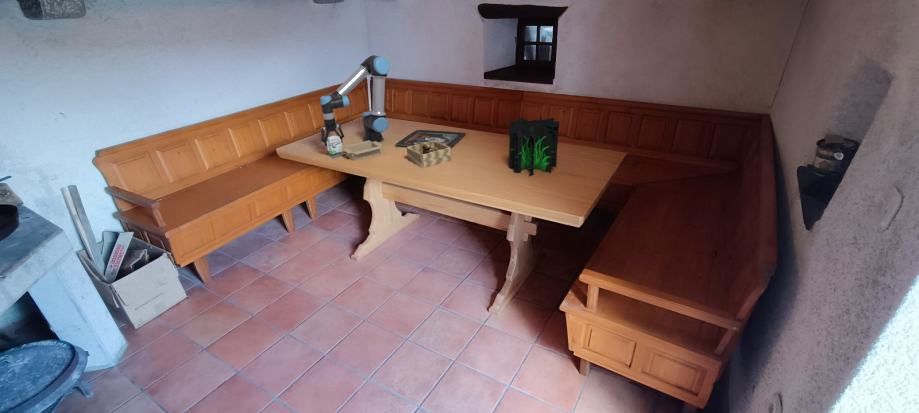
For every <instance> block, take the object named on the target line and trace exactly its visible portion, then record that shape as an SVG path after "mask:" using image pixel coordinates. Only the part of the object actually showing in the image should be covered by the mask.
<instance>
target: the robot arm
mask: <svg viewBox="0 0 919 413" xmlns="http://www.w3.org/2000/svg"><path fill="white" fill-rule="evenodd" d="M390 69H391V64H390V62H389V60H388V59H387V58H385V57H383V56H381V55H370V56H369V57H367V58H366V59H364V60H363V62H362V63H360V64H359V67H358V68H357V69H356V70H355V71H354V72H353V73H352V74H351V75H350V76H349V77H348V78H347V79H346V80H345V81H343V83H342V84H341V85H340V86H338V88H337V89H336V90H335V91H333V92H330V93H328V95H322V96H320V98H319V102H320V106H321V107H320V108H321V111H322V116H323V118H322V119H323V122H324V126H323V127H320V131H321V134H320V136H321V137H320V138H321V139H320V141H321V142H322V143H324V147H326V150H327V151H328V152H329V146H328V142H327V138H328V137H329V135H330V134H331V132H335V134H336V135H337V136H340V142H341V148H342V149H343V140H344V139H343V138H345V135H344V131H343V130H342V128H341V126H342V125H341V124H340V123H338V124H337V123H336V119H335V113H334V110H335V109H336V110H337V109H343V108H346V107H348V108H349V106H350V100H349V97H348V96H347V95H348V94H349V93H351V92H352V90H354V89H355V88H356V87H357V86H358V85H359V84H360V83H361V82H362V81H363V80H364V79H365V78H366V77H367V76H371V77H372V110H369V111H364V112H362V118H361V119H362V122H363V123H362V124H363V128H364V129H363V130H364V135H363V142H364V141H371V142H374V141H377V142H378V143H381V142H382V141H384V137H383V134H382V133H383V132H385V131H386V130H387V129H388V127H389V121H388V120H387V114H386V112H385V97H386V96H385V91H386V90H385V89H386V88H385V86H386V78H387V77H388V73H389V71H390ZM336 128H337V129H338V130H337V129H336Z"/></svg>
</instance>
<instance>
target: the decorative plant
mask: <svg viewBox="0 0 919 413" xmlns="http://www.w3.org/2000/svg"><path fill="white" fill-rule="evenodd" d="M559 128H560V121H555V118H554V117H550V118H546V119H543V115H541V116H540V117H539V118H536V119H533V120H528V119H526V118H524V117H520V116H518V120H516V121H509V142H508V143H509V145H508V146H509V147H508V148H509V149H508V150H509V151H508V152H509V155H508V156H509V157H508V168H510V169H513V170H514V171H513V173H515V174H516V173H517V174H521V173H522V171H524V170H529V175H528V177H529V176H533V175H535V174H534V173H535V172H534V170H536V171H537V170H539V171H541V172H544V173H549V174H551V173H552V167H553V168H557V161H558V160H557V158H558V144H559V142H558V141H559Z"/></svg>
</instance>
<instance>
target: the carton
mask: <svg viewBox="0 0 919 413" xmlns="http://www.w3.org/2000/svg"><path fill="white" fill-rule="evenodd" d="M382 146H383V144H382V143H381V142H377V141H374V142H371V141H364V140H363V141H361V142H357V143H351V144H347V145H343V147H344V148H342V150H343V151H344V152H345V154H346V157H348V158H349V159H351V160H352V161H355V162H356V161H359V160H363V159H367V158H370V157H375V156H379V155H381V153H382V152H381V149H382V148H383V147H382Z"/></svg>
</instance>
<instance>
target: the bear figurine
mask: <svg viewBox="0 0 919 413" xmlns="http://www.w3.org/2000/svg"><path fill="white" fill-rule="evenodd" d="M422 148H423V154H426V153H430V152H434V150H433V149H432V148H431V147H430V145H426V144H424V143H423V146H422Z"/></svg>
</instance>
